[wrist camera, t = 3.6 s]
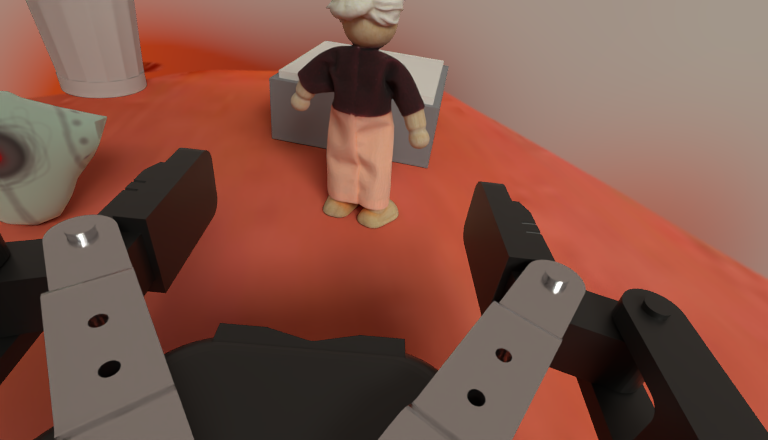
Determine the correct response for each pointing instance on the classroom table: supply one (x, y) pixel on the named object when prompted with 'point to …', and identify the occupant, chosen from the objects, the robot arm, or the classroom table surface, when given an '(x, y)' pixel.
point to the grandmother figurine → (363, 109)
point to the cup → (92, 45)
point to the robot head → (42, 157)
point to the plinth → (315, 120)
